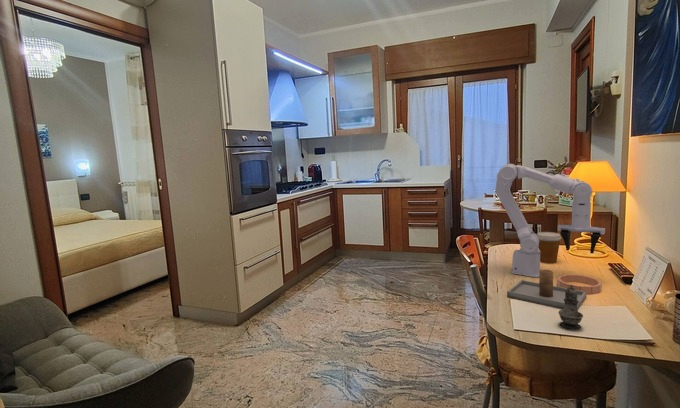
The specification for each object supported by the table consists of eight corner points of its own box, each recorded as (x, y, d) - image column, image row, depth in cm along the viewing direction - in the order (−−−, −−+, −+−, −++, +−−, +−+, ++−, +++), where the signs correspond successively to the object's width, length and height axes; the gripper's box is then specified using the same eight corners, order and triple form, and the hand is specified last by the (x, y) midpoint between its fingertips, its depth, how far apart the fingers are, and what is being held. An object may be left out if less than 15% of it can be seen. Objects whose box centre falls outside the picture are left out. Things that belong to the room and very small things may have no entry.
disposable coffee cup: (537, 257, 171) (538, 231, 169) (562, 259, 165) (562, 232, 164) (533, 262, 163) (534, 235, 162) (559, 265, 158) (560, 237, 156)
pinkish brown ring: (553, 288, 133) (553, 281, 133) (562, 278, 142) (563, 272, 142) (596, 296, 124) (596, 289, 124) (604, 285, 133) (604, 278, 133)
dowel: (537, 295, 126) (537, 272, 125) (541, 291, 129) (541, 269, 128) (551, 298, 123) (551, 274, 122) (554, 294, 126) (554, 270, 125)
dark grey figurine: (553, 322, 108) (554, 281, 107) (572, 320, 109) (574, 280, 107) (567, 331, 102) (568, 289, 101) (587, 330, 103) (589, 287, 101)
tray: (507, 297, 128) (507, 291, 127) (521, 285, 138) (521, 279, 137) (575, 311, 114) (576, 305, 114) (586, 297, 124) (586, 291, 124)
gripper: (555, 215, 141) (554, 250, 142) (602, 218, 131) (601, 256, 132) (561, 212, 146) (560, 246, 147) (606, 215, 136) (605, 252, 138)
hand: (579, 251), depth 140 cm, fingers open, 7 cm apart
